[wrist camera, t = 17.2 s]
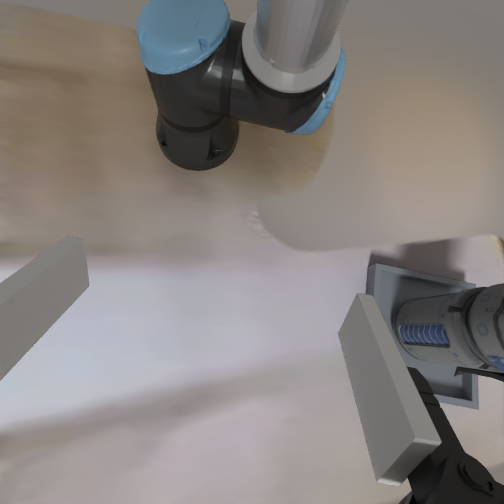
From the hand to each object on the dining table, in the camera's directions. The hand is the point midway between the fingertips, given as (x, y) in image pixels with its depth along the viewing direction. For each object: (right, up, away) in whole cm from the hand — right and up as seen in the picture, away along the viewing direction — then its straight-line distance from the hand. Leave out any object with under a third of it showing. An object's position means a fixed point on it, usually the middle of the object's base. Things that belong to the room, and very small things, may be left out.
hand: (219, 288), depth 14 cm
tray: (+30, -12, +36) cm, 48 cm away
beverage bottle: (+30, -12, +35) cm, 48 cm away
